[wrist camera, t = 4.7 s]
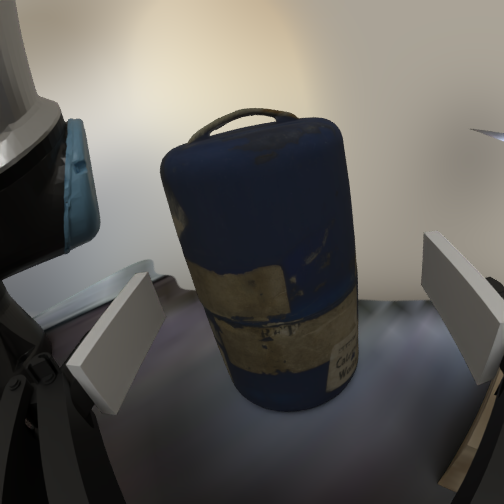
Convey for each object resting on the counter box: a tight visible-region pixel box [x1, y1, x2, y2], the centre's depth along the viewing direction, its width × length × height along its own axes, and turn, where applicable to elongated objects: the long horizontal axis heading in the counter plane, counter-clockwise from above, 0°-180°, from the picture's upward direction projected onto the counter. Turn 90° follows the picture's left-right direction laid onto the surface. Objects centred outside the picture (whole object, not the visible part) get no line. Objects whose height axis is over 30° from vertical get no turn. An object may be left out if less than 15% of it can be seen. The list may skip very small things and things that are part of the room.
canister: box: [160, 108, 359, 412], centre depth 18 cm, size 10×10×18 cm
